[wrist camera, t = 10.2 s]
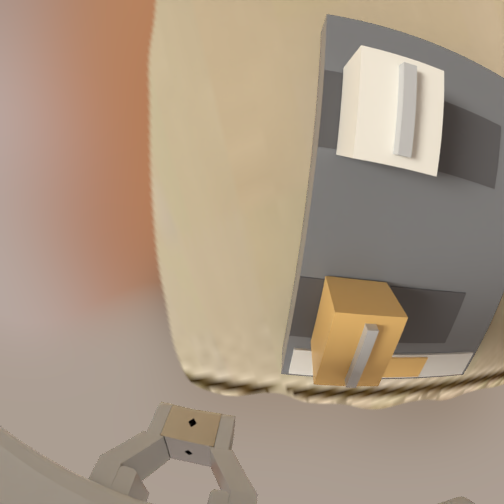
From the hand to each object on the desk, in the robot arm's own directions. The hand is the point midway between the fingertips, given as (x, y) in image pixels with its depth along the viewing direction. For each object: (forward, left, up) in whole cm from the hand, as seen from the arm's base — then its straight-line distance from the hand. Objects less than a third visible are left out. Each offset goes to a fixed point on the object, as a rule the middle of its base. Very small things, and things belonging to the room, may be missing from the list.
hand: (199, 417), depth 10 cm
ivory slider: (-7, -12, -9) cm, 17 cm away
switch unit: (-12, -6, -12) cm, 18 cm away
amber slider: (-7, 0, -9) cm, 12 cm away
